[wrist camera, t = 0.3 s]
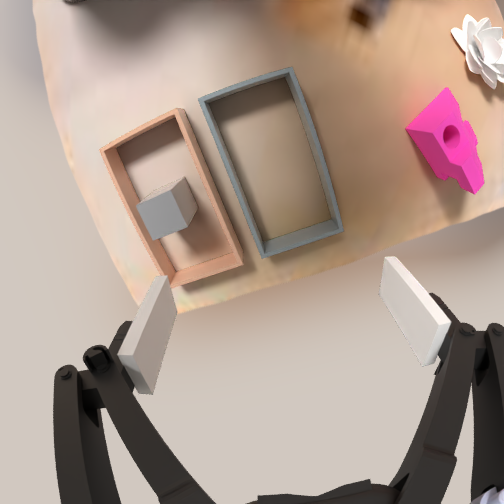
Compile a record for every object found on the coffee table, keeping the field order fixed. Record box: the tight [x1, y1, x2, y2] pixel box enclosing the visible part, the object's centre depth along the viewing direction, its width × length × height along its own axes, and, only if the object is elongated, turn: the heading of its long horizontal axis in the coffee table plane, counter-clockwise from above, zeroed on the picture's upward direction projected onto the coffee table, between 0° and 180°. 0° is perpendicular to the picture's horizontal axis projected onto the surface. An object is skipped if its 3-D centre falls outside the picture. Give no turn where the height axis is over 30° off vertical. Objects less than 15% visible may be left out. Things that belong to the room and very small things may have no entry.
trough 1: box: [99, 108, 243, 288], centre depth 39 cm, size 23×12×4 cm, turn 20°
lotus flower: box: [451, 14, 504, 89], centre depth 24 cm, size 14×15×9 cm
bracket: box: [405, 88, 484, 194], centre depth 31 cm, size 12×10×10 cm
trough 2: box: [198, 67, 344, 259], centre depth 37 cm, size 23×12×4 cm, turn 20°
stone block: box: [136, 177, 198, 241], centre depth 37 cm, size 5×5×8 cm
